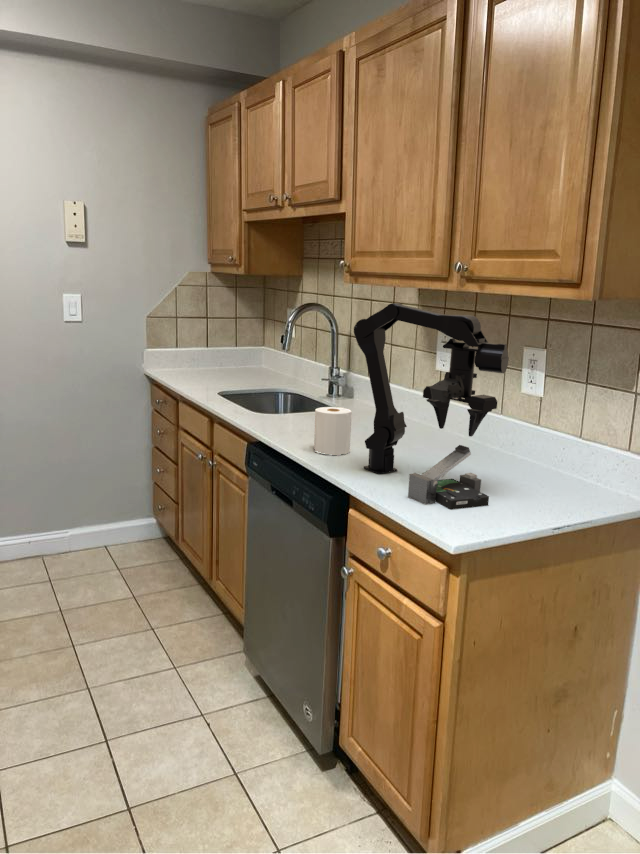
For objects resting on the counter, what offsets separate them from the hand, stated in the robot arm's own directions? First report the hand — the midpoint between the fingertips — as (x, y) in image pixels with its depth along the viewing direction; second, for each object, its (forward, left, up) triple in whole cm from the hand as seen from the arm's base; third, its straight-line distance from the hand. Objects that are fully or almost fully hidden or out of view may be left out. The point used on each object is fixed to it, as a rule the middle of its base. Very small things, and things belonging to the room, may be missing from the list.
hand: (455, 432), depth 173 cm
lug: (+6, 0, -13) cm, 14 cm away
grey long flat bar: (+6, -9, -6) cm, 12 cm away
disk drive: (+8, -8, -14) cm, 18 cm away
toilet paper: (-40, -8, -13) cm, 43 cm away
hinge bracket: (+6, -16, -13) cm, 22 cm away
